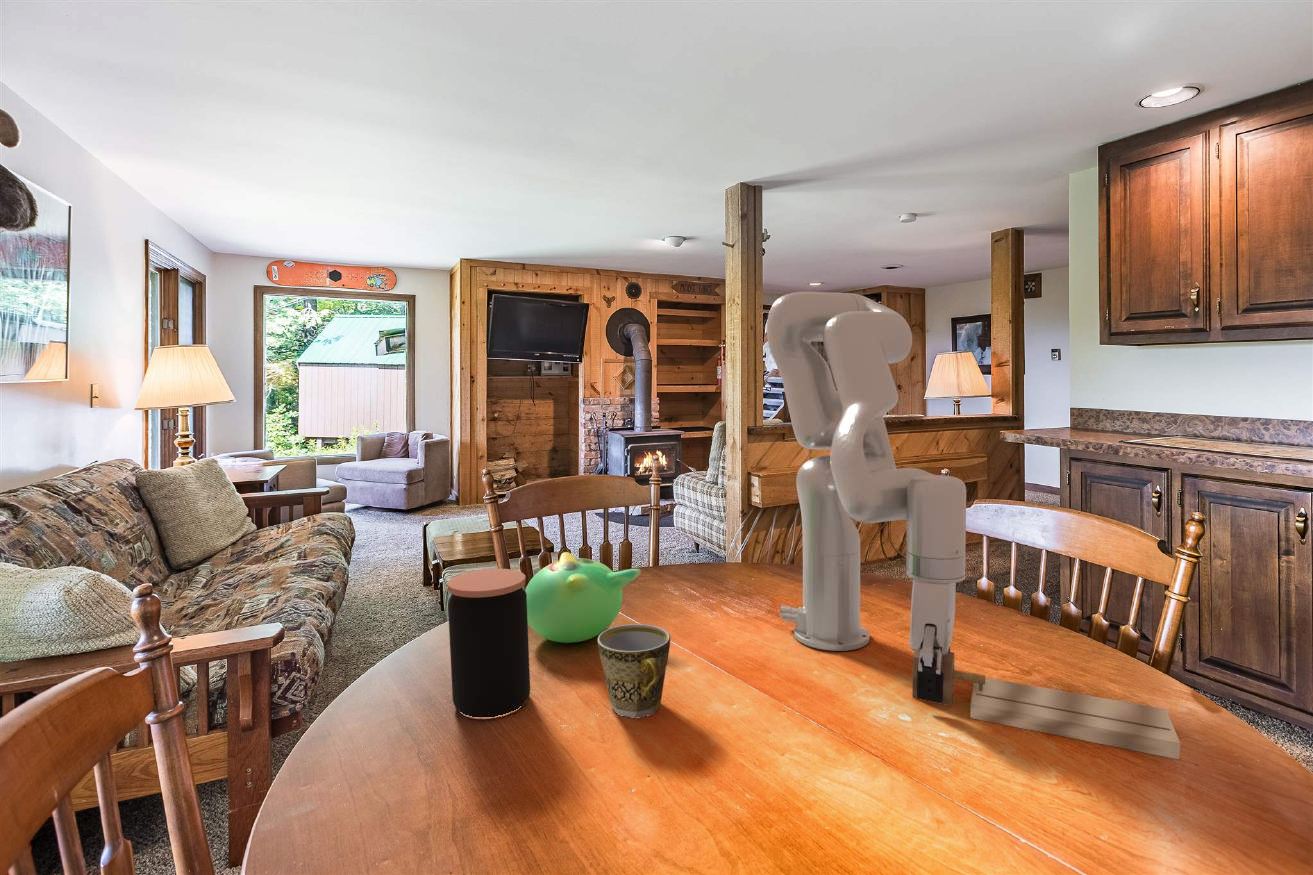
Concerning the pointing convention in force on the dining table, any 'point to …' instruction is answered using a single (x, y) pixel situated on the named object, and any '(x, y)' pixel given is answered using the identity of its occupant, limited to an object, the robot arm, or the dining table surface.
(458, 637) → the coffee jar
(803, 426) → the robot arm
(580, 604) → the plump green bird figurine
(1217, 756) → the dining table surface
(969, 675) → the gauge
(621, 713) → the ceramic cup
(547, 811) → the dining table surface
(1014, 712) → the board
